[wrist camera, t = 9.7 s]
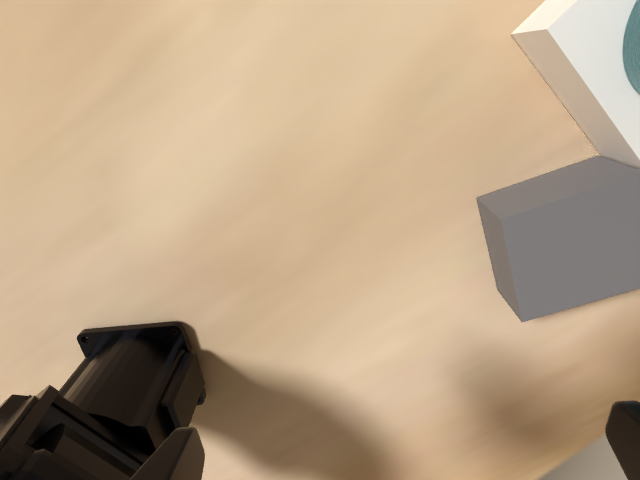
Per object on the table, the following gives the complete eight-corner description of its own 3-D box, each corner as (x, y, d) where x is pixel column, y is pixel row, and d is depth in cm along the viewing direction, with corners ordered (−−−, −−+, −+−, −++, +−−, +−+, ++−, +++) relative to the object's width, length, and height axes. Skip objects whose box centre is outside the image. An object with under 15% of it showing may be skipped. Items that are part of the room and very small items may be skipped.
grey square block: (497, 290, 22) (521, 322, 19) (476, 197, 20) (500, 219, 17) (607, 256, 21) (648, 285, 18) (598, 155, 19) (644, 171, 16)
